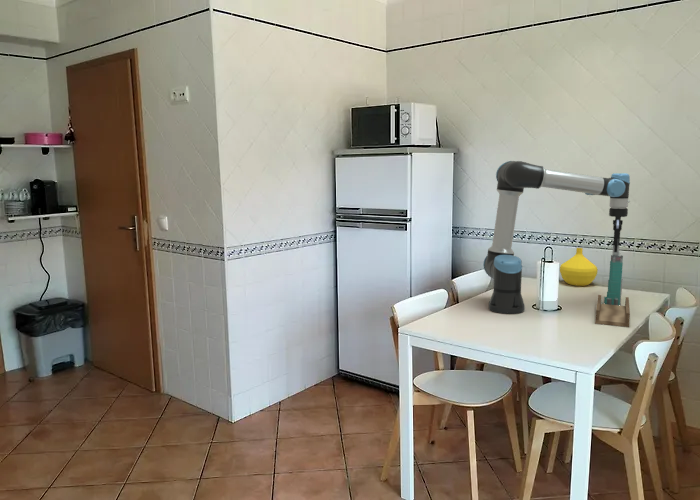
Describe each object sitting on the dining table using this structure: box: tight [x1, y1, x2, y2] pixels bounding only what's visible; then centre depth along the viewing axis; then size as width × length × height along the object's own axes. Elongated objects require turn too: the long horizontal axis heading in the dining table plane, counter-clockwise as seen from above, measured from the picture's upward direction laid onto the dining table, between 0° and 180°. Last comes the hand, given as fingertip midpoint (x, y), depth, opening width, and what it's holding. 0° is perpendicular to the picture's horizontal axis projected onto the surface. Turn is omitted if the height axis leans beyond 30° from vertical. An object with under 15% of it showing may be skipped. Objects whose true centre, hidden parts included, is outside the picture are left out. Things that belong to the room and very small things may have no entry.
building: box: [603, 246, 624, 306], centre depth 244 cm, size 6×6×30 cm
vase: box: [559, 247, 599, 287], centre depth 287 cm, size 18×18×19 cm
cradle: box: [594, 294, 631, 328], centre depth 228 cm, size 12×28×6 cm, turn 154°
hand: (615, 258), depth 252 cm, fingers closed
